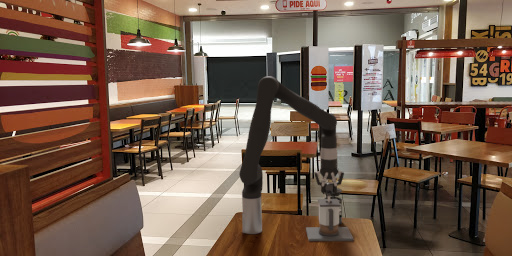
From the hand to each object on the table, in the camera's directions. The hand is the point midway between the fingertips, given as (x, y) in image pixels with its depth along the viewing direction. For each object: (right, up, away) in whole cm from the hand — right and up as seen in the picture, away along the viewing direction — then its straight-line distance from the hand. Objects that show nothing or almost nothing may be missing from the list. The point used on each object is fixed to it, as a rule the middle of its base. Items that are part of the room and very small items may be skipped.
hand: (328, 193), depth 186 cm
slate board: (0, -20, +2) cm, 20 cm away
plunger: (0, -10, +1) cm, 10 cm away
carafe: (0, -19, +1) cm, 19 cm away
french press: (+5, -18, +19) cm, 27 cm away
